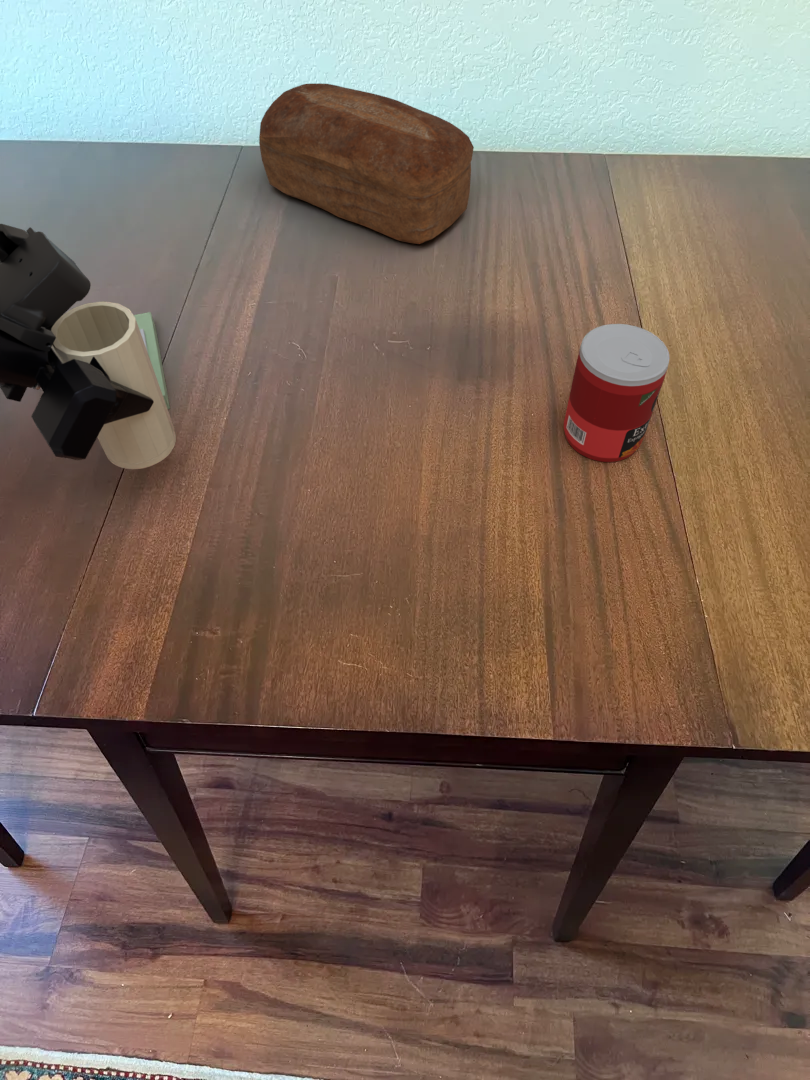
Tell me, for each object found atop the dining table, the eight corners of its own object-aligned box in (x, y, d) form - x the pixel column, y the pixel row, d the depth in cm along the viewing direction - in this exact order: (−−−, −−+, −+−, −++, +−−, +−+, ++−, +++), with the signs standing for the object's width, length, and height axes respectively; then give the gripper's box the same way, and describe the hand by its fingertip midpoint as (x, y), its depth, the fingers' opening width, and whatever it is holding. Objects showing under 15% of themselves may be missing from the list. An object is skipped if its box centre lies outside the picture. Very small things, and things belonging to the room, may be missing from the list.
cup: (159, 474, 69) (113, 360, 58) (92, 463, 69) (35, 349, 59) (186, 423, 72) (148, 307, 62) (122, 413, 73) (73, 296, 63)
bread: (424, 264, 96) (425, 167, 86) (252, 193, 105) (235, 98, 95) (484, 210, 102) (491, 115, 92) (317, 148, 112) (307, 55, 102)
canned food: (634, 473, 76) (663, 389, 67) (553, 452, 77) (571, 368, 68) (648, 419, 80) (677, 333, 71) (571, 400, 82) (590, 315, 73)
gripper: (34, 295, 46) (234, 363, 59) (-62, 162, 55) (129, 246, 68) (-36, 445, 50) (165, 478, 62) (-116, 298, 59) (75, 353, 71)
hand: (133, 382), depth 66 cm, fingers closed on cup, 6 cm apart
